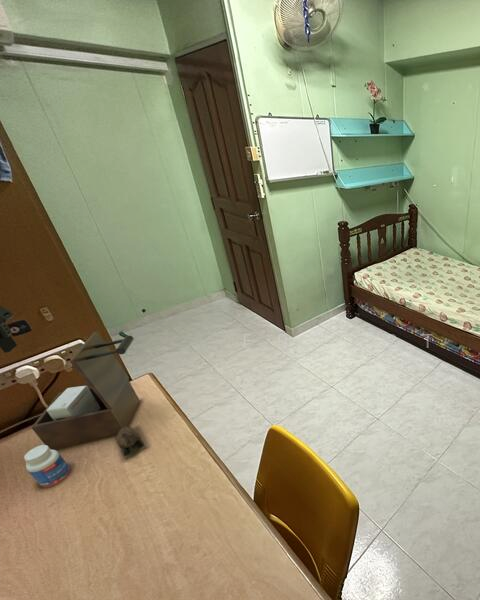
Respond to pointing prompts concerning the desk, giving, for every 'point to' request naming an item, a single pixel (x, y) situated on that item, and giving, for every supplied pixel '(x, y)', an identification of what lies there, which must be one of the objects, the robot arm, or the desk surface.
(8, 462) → the desk surface
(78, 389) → the ink box
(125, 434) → the figurine
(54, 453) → the pill bottle
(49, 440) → the chest
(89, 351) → the lid
